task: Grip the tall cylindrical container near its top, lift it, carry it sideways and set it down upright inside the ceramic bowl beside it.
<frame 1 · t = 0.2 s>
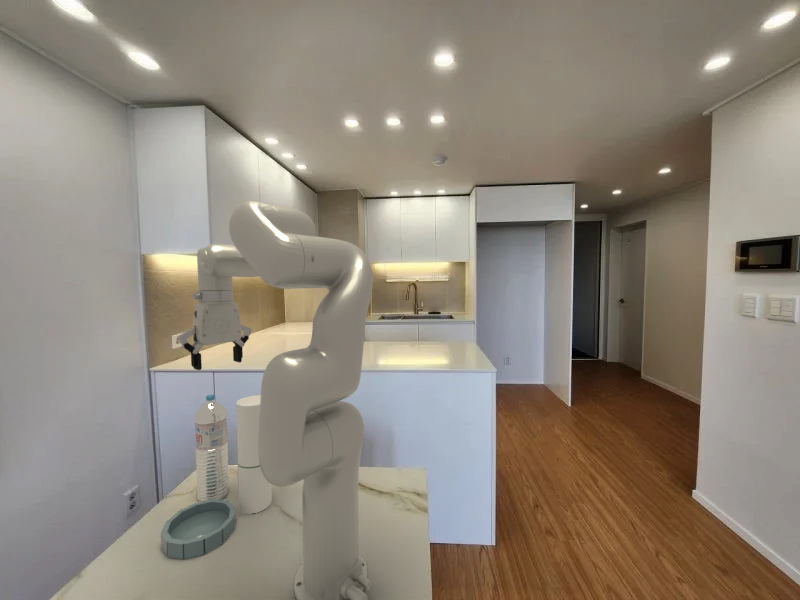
hand: (218, 365, 85), 31 cm above the countertop, tool pointing down, fingers open, 9 cm apart
water bottle: (213, 496, 83), on the countertop
cylindrical container: (255, 504, 80), on the countertop
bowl: (200, 533, 71), on the countertop
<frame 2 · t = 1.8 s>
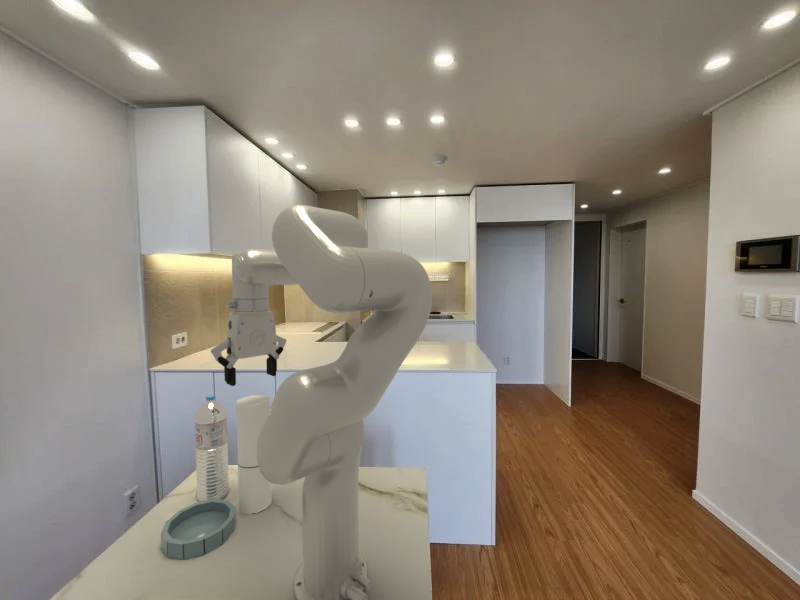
hand: (252, 379, 79), 30 cm above the countertop, tool pointing down, fingers open, 9 cm apart
nothing on the countertop moved.
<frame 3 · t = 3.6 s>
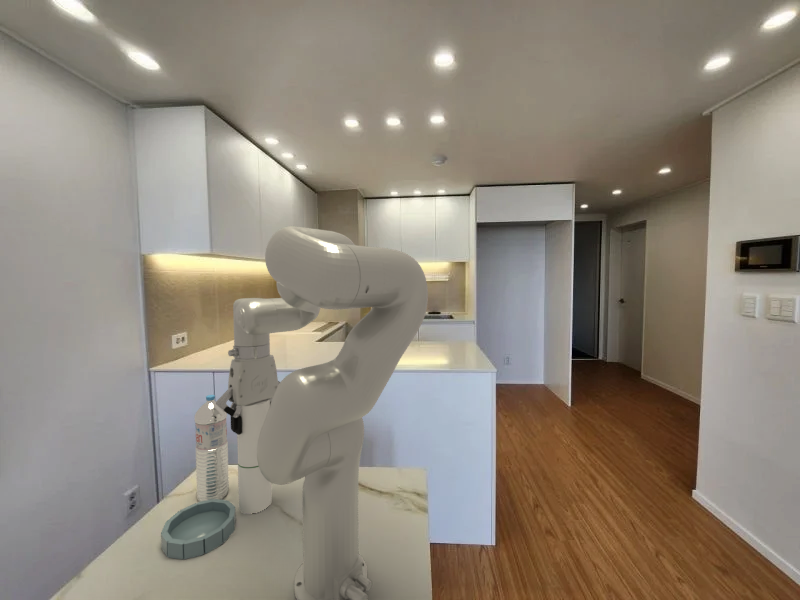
hand: (254, 426, 79), 19 cm above the countertop, tool pointing down, fingers closed on cylindrical container, 7 cm apart
cylindrical container: (255, 504, 80), on the countertop, touching gripper
everything else where it was.
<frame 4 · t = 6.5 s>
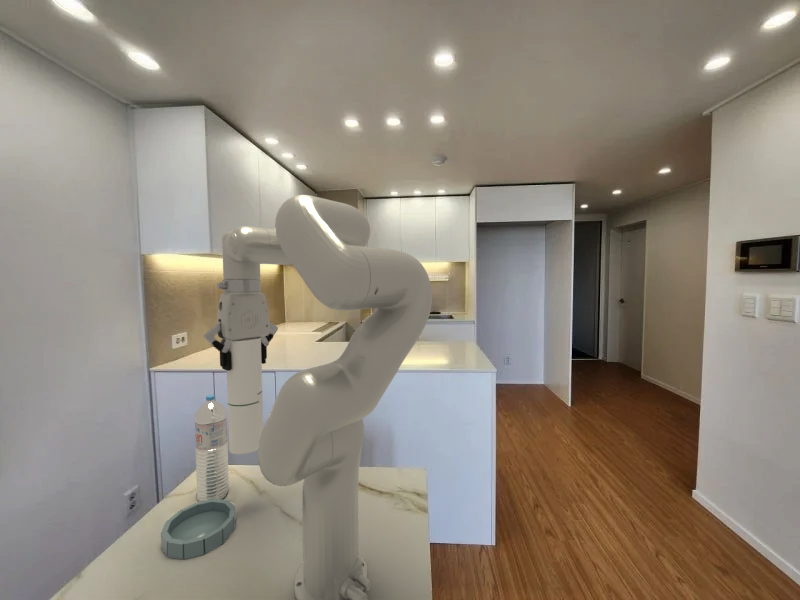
hand: (244, 365, 76), 34 cm above the countertop, tool pointing down, fingers closed on cylindrical container, 7 cm apart
cylindrical container: (246, 447, 78), point 15 cm above the countertop, touching gripper
everything else where it was.
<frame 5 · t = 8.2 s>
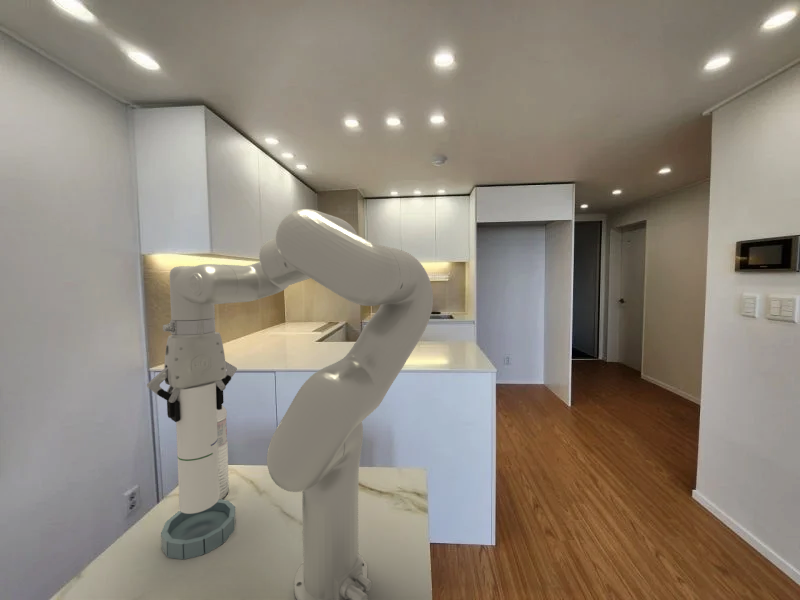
hand: (197, 413, 69), 26 cm above the countertop, tool pointing down, fingers closed on cylindrical container, 7 cm apart
cylindrical container: (199, 502, 70), point 7 cm above the countertop, touching gripper
everything else where it was.
when the fingers open (22 cm above the countertop, at t = 9.6 s): cylindrical container drops 2 cm, resting on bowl.
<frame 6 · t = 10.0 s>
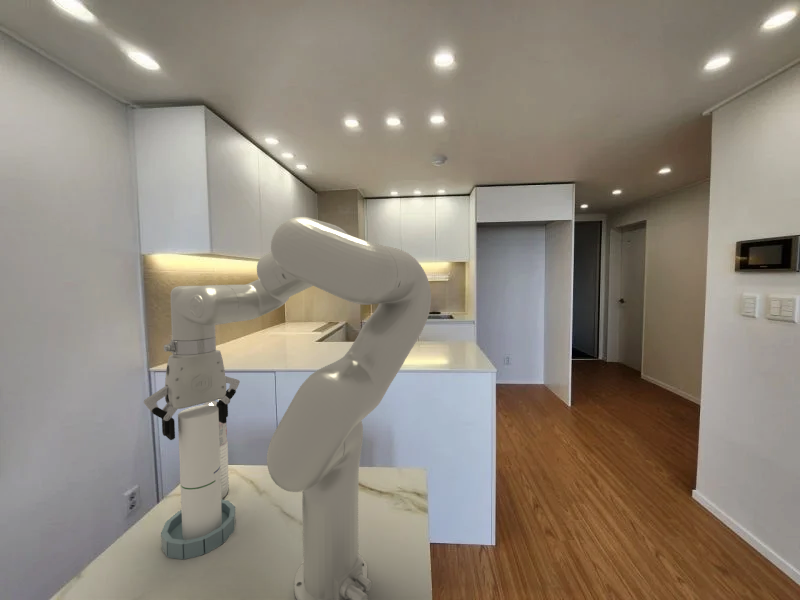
hand: (197, 429, 69), 22 cm above the countertop, tool pointing down, fingers open, 9 cm apart
cylindrical container: (202, 529, 71), point 1 cm above the countertop, touching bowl
everything else where it was.
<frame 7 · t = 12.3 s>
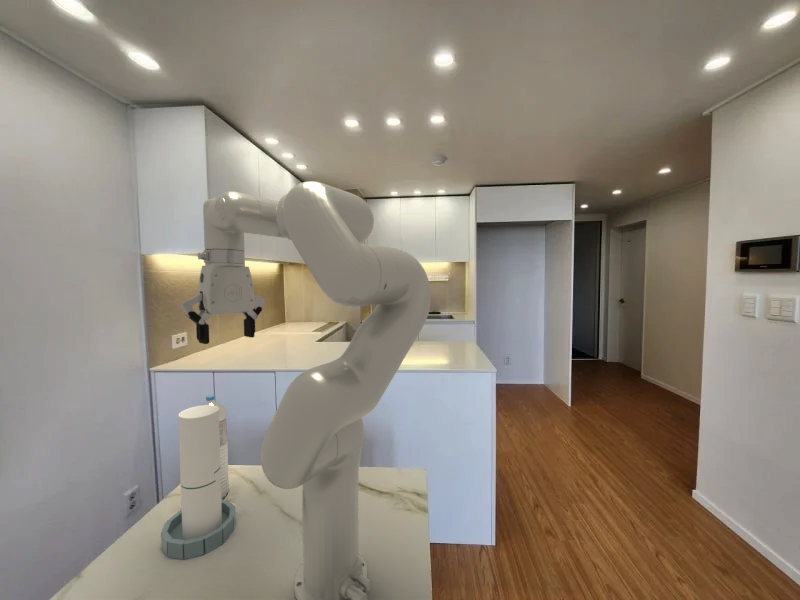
hand: (227, 339, 72), 40 cm above the countertop, tool pointing down, fingers open, 9 cm apart
nothing on the countertop moved.
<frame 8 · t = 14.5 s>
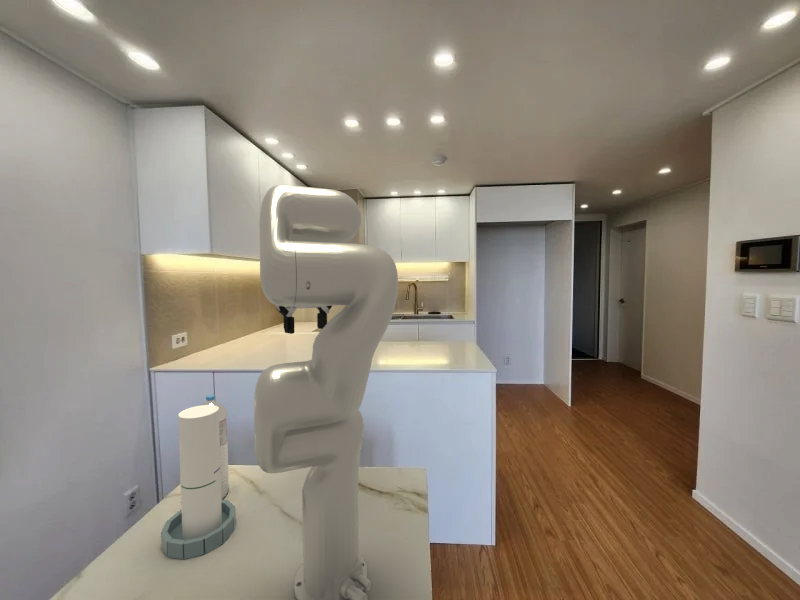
hand: (306, 330, 84), 40 cm above the countertop, tool pointing down, fingers open, 9 cm apart
nothing on the countertop moved.
at the end: cylindrical container 0.4 cm off-centre on the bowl, point 0.8 cm above the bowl's base; cylindrical container tilted 0°; the gripper is holding nothing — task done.
